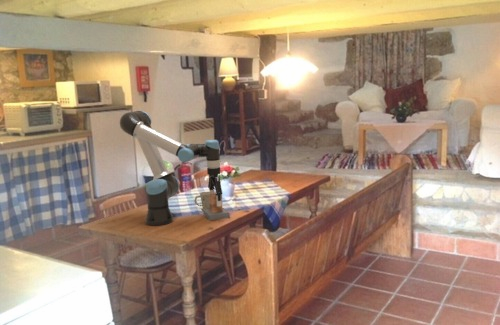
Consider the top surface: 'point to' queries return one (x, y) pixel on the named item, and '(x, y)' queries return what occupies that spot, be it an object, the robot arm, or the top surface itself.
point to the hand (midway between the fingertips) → (215, 203)
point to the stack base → (216, 215)
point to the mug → (203, 200)
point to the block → (214, 204)
